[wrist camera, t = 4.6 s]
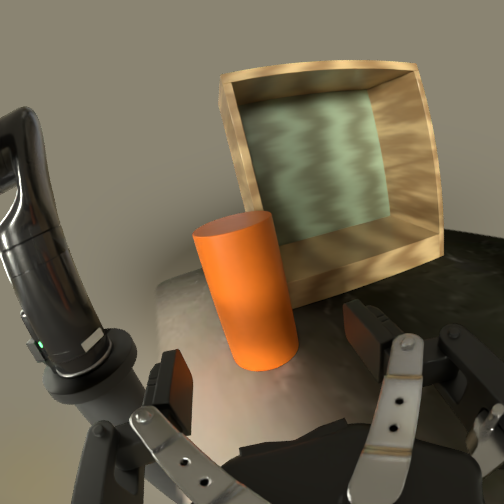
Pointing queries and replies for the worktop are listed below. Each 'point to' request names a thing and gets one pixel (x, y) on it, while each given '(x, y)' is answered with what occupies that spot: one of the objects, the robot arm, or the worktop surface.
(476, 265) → the worktop surface
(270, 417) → the worktop surface
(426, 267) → the worktop surface
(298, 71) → the shelf unit
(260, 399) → the worktop surface
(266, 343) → the can
